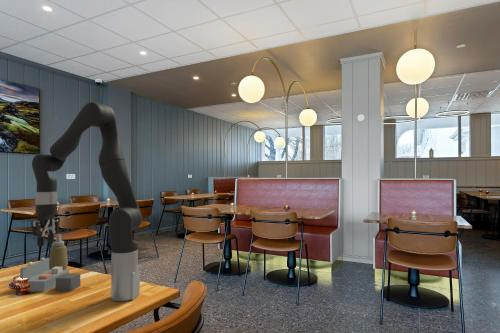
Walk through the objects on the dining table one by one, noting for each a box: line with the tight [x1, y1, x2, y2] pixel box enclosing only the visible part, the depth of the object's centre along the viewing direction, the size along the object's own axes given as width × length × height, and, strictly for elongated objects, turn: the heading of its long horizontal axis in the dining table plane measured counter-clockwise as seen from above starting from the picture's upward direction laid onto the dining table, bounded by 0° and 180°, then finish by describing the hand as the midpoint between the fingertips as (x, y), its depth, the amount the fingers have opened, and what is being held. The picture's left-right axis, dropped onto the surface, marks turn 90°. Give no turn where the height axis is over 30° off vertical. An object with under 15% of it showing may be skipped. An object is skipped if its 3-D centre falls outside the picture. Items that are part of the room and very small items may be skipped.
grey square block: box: [54, 272, 82, 292], centre depth 126 cm, size 7×7×5 cm
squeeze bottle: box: [48, 233, 69, 270], centre depth 147 cm, size 8×8×18 cm
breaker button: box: [39, 274, 52, 279], centre depth 127 cm, size 3×3×4 cm
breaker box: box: [19, 257, 70, 293], centre depth 130 cm, size 10×15×10 cm
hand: (45, 244), depth 128 cm, fingers open, 5 cm apart
